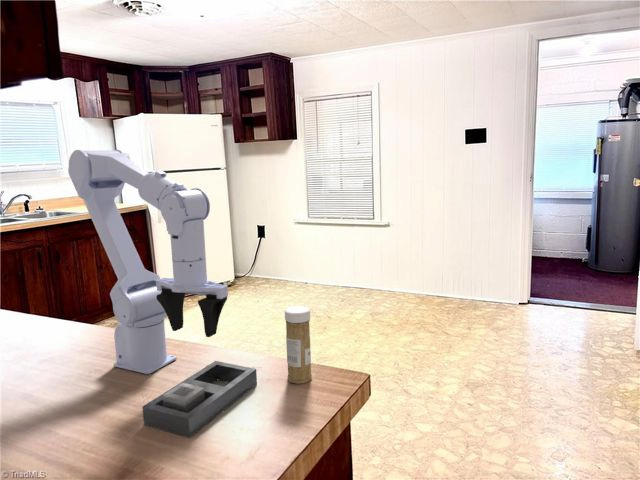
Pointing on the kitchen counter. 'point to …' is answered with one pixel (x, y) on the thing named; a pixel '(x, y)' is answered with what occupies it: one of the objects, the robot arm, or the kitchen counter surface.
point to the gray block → (184, 397)
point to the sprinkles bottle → (298, 344)
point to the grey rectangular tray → (214, 399)
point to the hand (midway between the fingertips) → (194, 332)
